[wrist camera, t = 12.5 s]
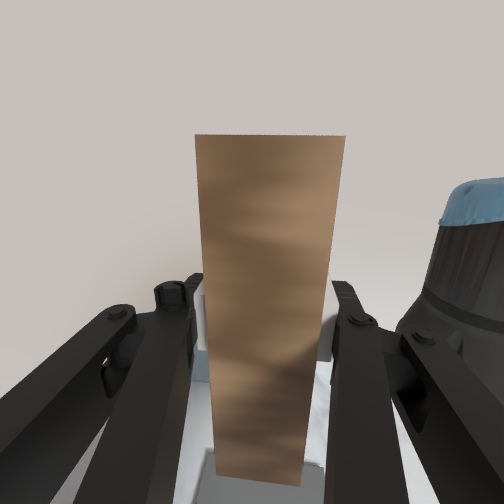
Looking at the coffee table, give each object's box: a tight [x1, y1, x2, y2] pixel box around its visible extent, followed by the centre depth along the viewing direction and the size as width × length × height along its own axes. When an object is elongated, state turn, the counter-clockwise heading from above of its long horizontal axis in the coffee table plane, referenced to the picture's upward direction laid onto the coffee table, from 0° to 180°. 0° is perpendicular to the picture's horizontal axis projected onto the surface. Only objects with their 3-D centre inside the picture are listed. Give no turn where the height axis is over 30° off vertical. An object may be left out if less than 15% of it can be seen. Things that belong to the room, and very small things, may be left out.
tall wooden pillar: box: [195, 135, 345, 487], centre depth 12 cm, size 4×4×15 cm
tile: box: [191, 341, 210, 383], centre depth 35 cm, size 10×2×8 cm
